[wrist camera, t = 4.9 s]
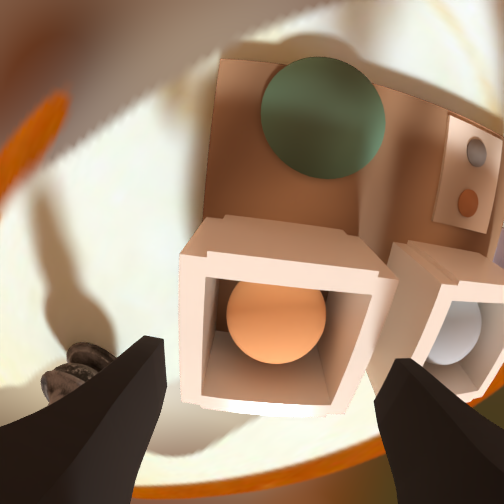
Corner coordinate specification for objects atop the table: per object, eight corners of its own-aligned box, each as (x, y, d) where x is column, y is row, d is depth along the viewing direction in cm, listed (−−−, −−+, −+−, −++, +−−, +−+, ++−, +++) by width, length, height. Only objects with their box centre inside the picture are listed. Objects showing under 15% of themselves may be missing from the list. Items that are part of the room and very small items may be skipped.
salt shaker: (60, 372, 18) (-11, 484, 7) (69, 323, 17) (-33, 456, 5) (124, 410, 19) (74, 537, 8) (145, 369, 17) (79, 531, 6)
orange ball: (325, 256, 13) (348, 300, 9) (307, 330, 14) (319, 387, 11) (235, 245, 13) (225, 287, 9) (227, 322, 14) (217, 378, 11)
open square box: (487, 254, 13) (537, 289, 9) (447, 352, 15) (479, 399, 11) (394, 237, 13) (443, 278, 8) (357, 354, 15) (380, 414, 11)
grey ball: (465, 274, 13) (507, 309, 9) (441, 335, 15) (472, 377, 11) (410, 267, 13) (450, 307, 9) (386, 335, 15) (413, 384, 11)
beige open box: (359, 232, 13) (401, 273, 8) (326, 353, 15) (343, 417, 11) (206, 212, 13) (179, 247, 8) (199, 340, 15) (181, 404, 11)
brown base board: (503, 133, 11) (520, 134, 10) (448, 338, 16) (459, 351, 15) (225, 54, 11) (221, 43, 10) (200, 322, 16) (195, 338, 14)
